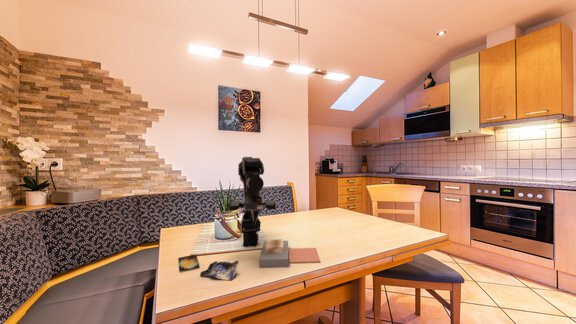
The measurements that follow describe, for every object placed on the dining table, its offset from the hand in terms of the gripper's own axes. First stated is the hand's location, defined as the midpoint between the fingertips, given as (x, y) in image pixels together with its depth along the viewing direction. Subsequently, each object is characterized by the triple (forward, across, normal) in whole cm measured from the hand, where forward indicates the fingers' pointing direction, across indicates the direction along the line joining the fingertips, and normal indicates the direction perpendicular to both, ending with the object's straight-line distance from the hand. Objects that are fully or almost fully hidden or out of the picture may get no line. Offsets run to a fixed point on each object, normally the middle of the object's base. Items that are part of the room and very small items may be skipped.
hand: (253, 226), depth 98 cm
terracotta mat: (+13, +20, 0) cm, 24 cm away
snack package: (+13, -11, -14) cm, 22 cm away
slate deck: (+13, +8, 0) cm, 15 cm away
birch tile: (+10, +8, 0) cm, 13 cm away
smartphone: (+14, -26, -4) cm, 29 cm away
